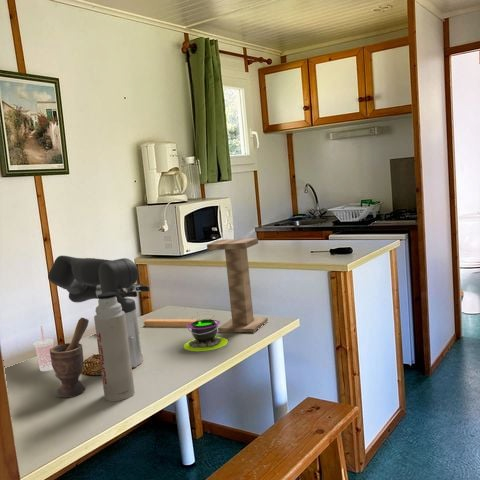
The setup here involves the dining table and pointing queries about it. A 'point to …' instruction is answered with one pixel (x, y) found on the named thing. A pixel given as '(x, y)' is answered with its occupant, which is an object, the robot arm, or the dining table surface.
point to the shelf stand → (238, 285)
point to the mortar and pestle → (70, 362)
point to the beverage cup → (44, 352)
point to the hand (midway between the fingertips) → (142, 291)
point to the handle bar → (168, 322)
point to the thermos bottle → (113, 348)
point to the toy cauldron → (204, 335)
